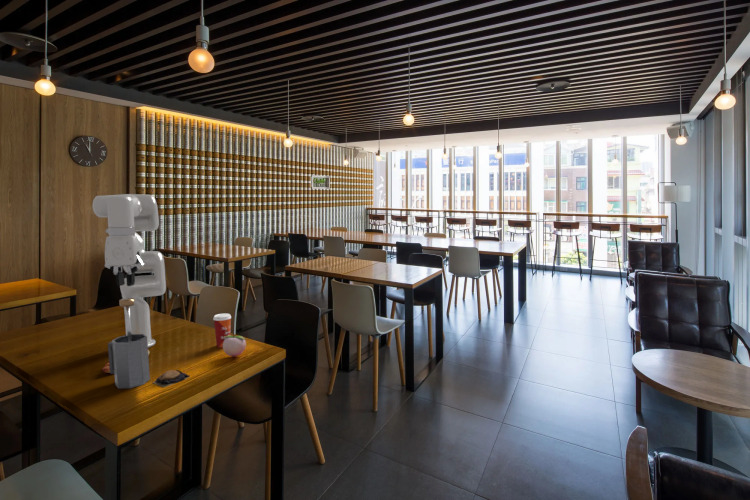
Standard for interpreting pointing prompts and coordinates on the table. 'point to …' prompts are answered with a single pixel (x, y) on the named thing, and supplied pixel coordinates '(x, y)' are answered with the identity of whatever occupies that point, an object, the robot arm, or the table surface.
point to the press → (129, 360)
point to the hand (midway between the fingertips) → (125, 284)
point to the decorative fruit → (234, 345)
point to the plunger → (128, 314)
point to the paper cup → (222, 327)
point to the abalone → (170, 378)
